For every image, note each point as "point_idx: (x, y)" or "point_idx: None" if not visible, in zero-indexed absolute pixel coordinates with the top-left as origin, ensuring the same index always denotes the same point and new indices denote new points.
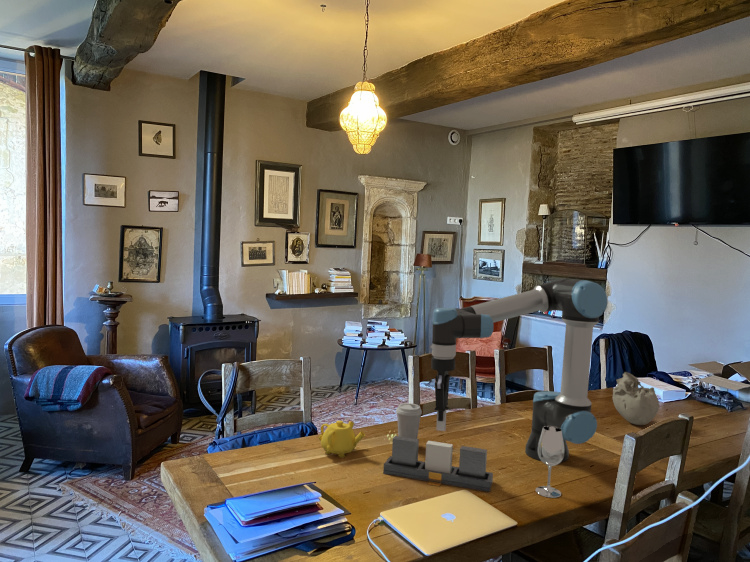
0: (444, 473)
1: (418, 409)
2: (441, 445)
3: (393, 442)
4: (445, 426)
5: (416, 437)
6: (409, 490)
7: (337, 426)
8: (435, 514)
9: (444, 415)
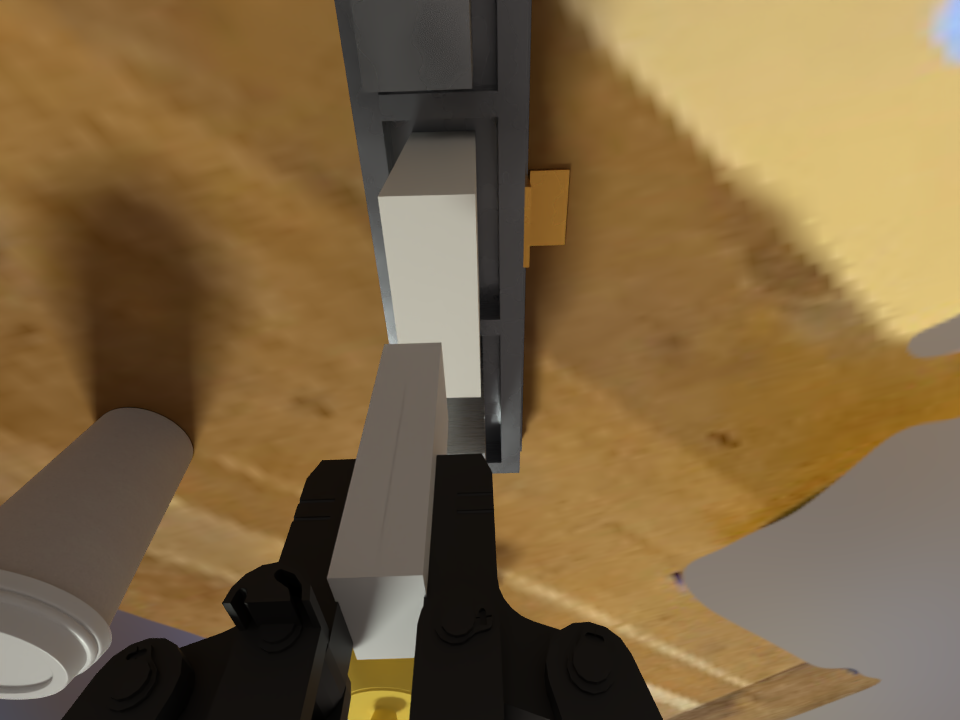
0: (511, 170)
1: None
2: (464, 287)
3: None
4: (397, 371)
5: (100, 447)
6: (667, 302)
7: (399, 712)
8: (954, 100)
9: (428, 508)
